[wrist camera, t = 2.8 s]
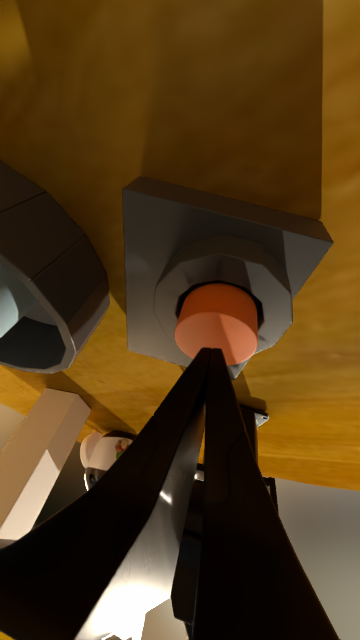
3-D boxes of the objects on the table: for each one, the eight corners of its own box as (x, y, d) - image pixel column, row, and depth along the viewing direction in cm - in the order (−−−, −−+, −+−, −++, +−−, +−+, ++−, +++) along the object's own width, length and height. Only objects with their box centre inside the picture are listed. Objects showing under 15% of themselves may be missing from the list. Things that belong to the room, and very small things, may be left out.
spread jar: (155, 444, 44) (135, 519, 36) (131, 448, 52) (109, 512, 44) (103, 420, 41) (68, 498, 33) (85, 428, 48) (52, 494, 40)
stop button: (240, 343, 12) (239, 374, 11) (178, 326, 12) (169, 354, 11) (270, 294, 9) (274, 326, 8) (190, 273, 10) (180, 301, 8)
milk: (62, 403, 39) (-55, 593, 24) (45, 386, 35) (-110, 604, 20) (92, 410, 38) (-12, 614, 23) (78, 393, 34) (-61, 631, 19)
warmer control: (235, 358, 19) (233, 402, 16) (136, 330, 19) (118, 369, 17) (322, 221, 10) (348, 265, 8) (139, 175, 11) (101, 201, 8)
